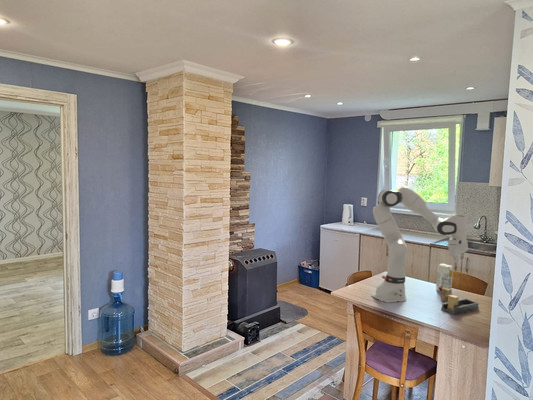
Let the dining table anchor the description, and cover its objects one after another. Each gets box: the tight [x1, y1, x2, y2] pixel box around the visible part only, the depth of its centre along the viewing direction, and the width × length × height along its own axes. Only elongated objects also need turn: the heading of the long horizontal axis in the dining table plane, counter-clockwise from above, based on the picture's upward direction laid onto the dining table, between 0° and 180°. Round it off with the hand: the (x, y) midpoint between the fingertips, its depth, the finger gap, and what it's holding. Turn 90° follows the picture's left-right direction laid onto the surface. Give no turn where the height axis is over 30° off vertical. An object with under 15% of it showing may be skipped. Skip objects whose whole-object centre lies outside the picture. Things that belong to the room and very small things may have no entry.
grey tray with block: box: [440, 294, 480, 316], centre depth 223 cm, size 22×9×10 cm, turn 116°
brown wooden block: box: [440, 288, 453, 303], centre depth 237 cm, size 5×4×8 cm
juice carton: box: [435, 263, 454, 293], centre depth 254 cm, size 8×9×19 cm
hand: (458, 260), depth 236 cm, fingers open, 8 cm apart
